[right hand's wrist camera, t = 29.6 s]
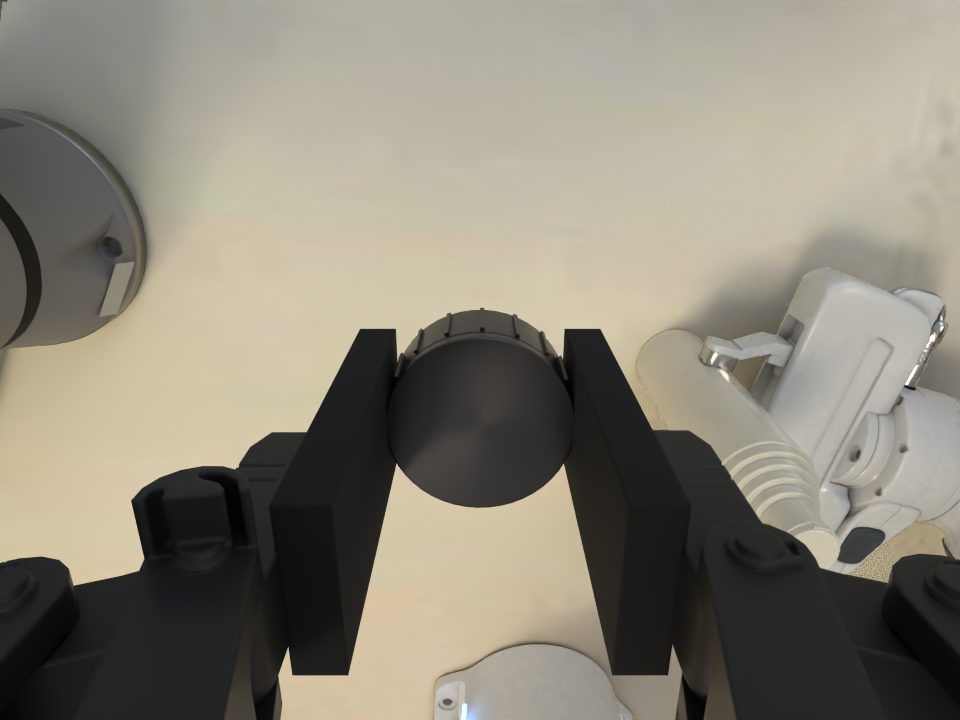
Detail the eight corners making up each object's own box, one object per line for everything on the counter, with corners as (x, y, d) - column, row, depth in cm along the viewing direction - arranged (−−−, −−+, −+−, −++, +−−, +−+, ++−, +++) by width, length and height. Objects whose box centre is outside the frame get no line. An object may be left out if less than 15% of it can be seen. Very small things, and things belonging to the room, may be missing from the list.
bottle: (699, 399, 49) (851, 609, 29) (629, 392, 49) (733, 598, 29) (716, 333, 47) (892, 508, 27) (644, 325, 47) (767, 495, 27)
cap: (593, 335, 14) (608, 367, 12) (534, 484, 15) (541, 530, 14) (419, 284, 13) (411, 310, 12) (375, 441, 15) (362, 484, 13)
